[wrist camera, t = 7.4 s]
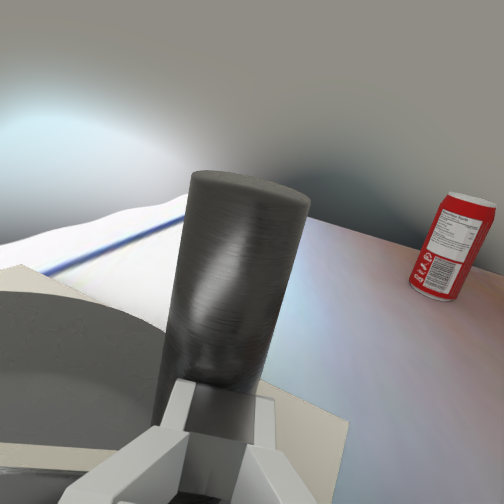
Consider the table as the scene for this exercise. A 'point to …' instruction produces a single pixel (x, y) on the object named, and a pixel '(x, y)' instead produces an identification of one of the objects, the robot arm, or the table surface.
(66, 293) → the dial base
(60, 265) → the table surface
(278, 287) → the dial
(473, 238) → the soda can
